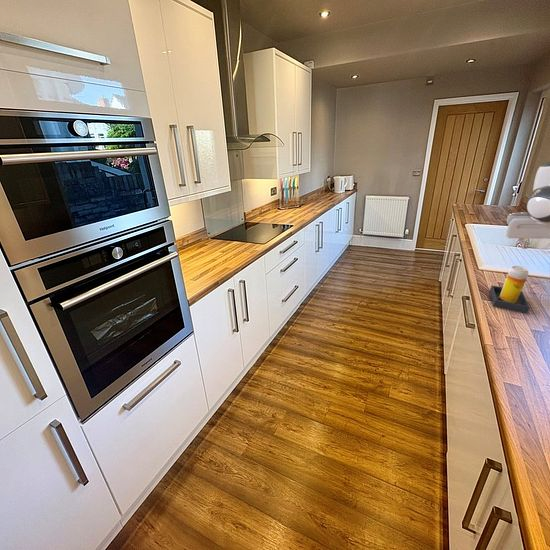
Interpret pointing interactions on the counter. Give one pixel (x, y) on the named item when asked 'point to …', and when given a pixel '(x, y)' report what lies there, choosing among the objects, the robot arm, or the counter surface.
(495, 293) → the tray
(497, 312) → the counter surface
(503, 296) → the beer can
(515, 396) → the counter surface
